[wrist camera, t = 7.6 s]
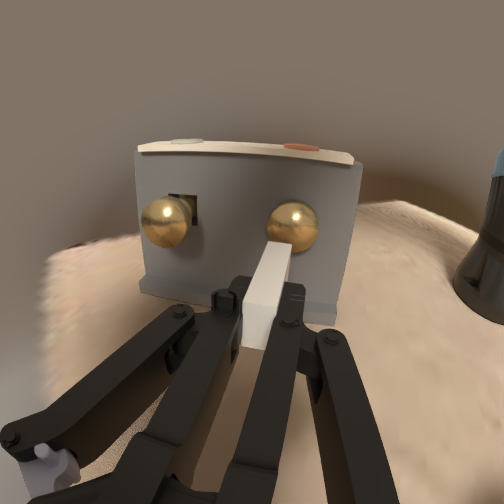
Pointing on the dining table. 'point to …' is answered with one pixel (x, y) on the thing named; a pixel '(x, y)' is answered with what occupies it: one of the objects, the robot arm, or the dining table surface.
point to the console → (247, 216)
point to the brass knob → (293, 224)
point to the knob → (169, 219)
